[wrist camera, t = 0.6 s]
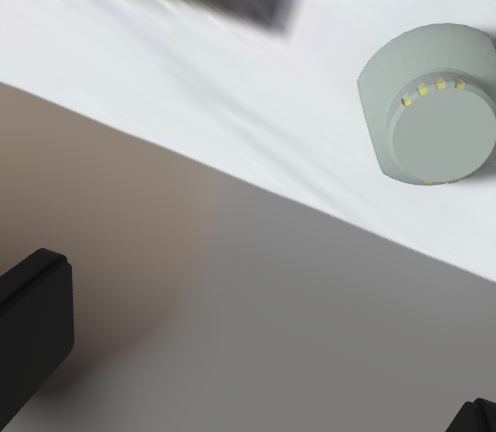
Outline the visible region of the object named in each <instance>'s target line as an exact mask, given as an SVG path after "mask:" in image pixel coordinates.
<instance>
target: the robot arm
mask: <svg viewBox="0 0 496 432" xmlns="http://www.w3.org/2000/svg"><path fill="white" fill-rule="evenodd" d="M72 291H73V289H72V266H71V265H70V264H69V263H68V261H67V258H66V256H64V255H62V254H59V253H56V252H53V251H50V250H48V249H45V248H41V249H38V250H37V251H35V252H34V253H33V254H31V255H30V256H28V257H27V258H25V259H24V260H23V261H21V262H20V263H19V264H17V265H16V266H14V267H13V268H12V269H10V270H9V271H8V272H6V273H5V274H3V275H2V276H1V277H0V432H1V431H2V430H3V428H4V427H5V426H6V425H7V424H8V423H9V422H10V421H11V420H12V418H13V417H14V416H15V415H16V414H17V413H18V412H19V410H20V409H21V408H22V407H23V406H24V405H25V404H26V402H27V401H28V400H29V399H30V398H31V397H32V396H33V395H34V393H35V392H36V391H37V390H38V389H39V388H40V387H41V385H42V384H43V383H44V382H45V381H46V380H47V379H48V378H49V376H50V375H51V374H52V373H53V372H54V371H55V370H56V369H57V367H58V366H59V365H60V364H61V363H62V362H63V361H64V359H65V358H66V357H67V356H68V355H69V353H70V352H71V350H72V347H73V344H74V321H73V320H74V318H73V292H72ZM445 432H496V403H494V402H491V401H488V400H485V399H482V398H477V399H476V400H475V401H474V402H473V403H472V402H469V401H467V402H465V403H464V405H463V406H462V408H461V409H460V411H459V412H458V414H457V415H456V417H455V418H454V420H453V421H452V422H451V424H450V426H449V427H448V428H447V430H446V431H445Z"/></svg>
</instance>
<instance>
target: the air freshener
mask: <svg viewBox="0 0 496 432" xmlns="http://www.w3.org/2000/svg"><path fill="white" fill-rule="evenodd" d="M357 85H358V90H359V95H360V99H361V104H362V108H363V112H364V116H365V119H366V123H367V127H368V130H369V134H370V137H371V141H372V144H373V147H374V150H375V154H376V157H377V160H378V163H379V165H380V168H381V170H382V173H383V174H385V175H387V176H389V177H390V178H392V179H395V180H398V181H401V182H404V183H409V184H414V185H428V186H429V185H440V184H445V183H449V184H450V183H454V182H458V180H461V179H463V178H468V177H470V176H471V175H473V174H475V172H476V171H478V170H480V169H481V168H483V167H484V166H485V165H487V164H488V163H489V162H491V161H492V160H493V159H494V158H495V157H496V51H495V48H494V45H493V42H492V40H491V38H490V36H489V35H488V34H486V33H484V32H482V31H481V30H478V29H475V28H472V27H469V26H466V25H459V24H451V23H444V24H432V25H427V26H422V27H418V28H416V29H413V30H410V31H408V32H405V33H403V34H401V35H400V36H398V37H396V38H394V39H393V40H391V41H390V42H388V43H387V44H386V45H385V46H383V47H382V48H381V49H380V50H379V51H378V52H377V53H376V54H375V55H374V56H373V57H372V58H371V59H370V60H369V62H368V63H367V64H366V66H365V67H364V69H363V70H362V72H361V74H360V76H359V78H358V80H357Z"/></svg>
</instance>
